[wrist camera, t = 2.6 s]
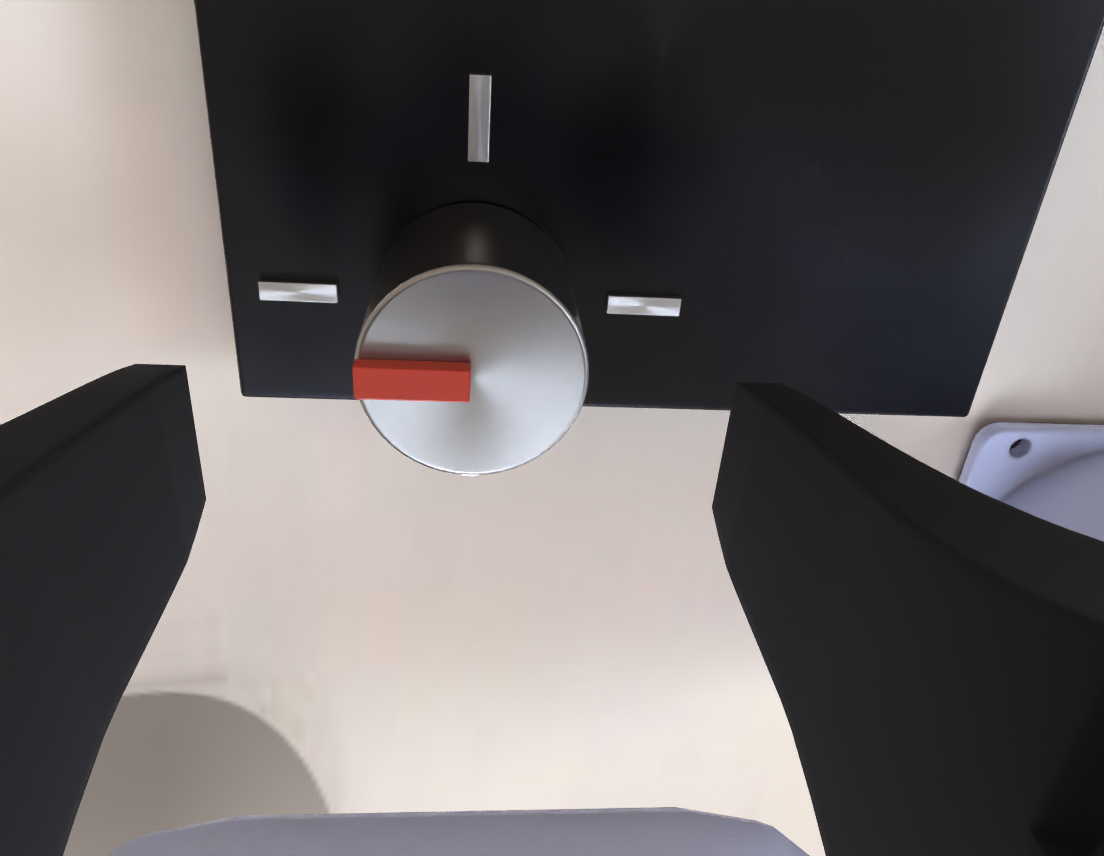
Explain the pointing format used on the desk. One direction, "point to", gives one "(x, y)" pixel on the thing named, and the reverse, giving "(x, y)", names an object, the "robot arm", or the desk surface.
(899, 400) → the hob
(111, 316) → the desk surface
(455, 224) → the knob
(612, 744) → the desk surface
